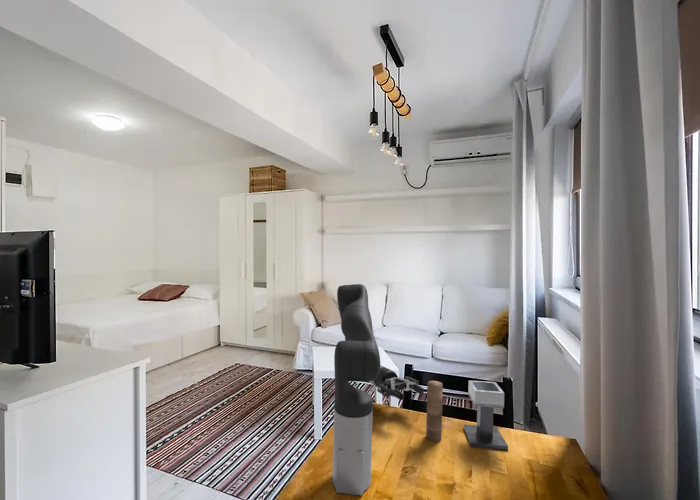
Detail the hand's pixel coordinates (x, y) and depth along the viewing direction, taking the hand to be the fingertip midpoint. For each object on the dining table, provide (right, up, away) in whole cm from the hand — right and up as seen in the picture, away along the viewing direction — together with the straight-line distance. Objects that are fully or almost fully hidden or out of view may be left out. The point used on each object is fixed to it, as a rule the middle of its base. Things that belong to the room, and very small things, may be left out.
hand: (413, 394), depth 105 cm
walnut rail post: (+5, -10, -7) cm, 13 cm away
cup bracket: (+20, -10, -7) cm, 23 cm away
